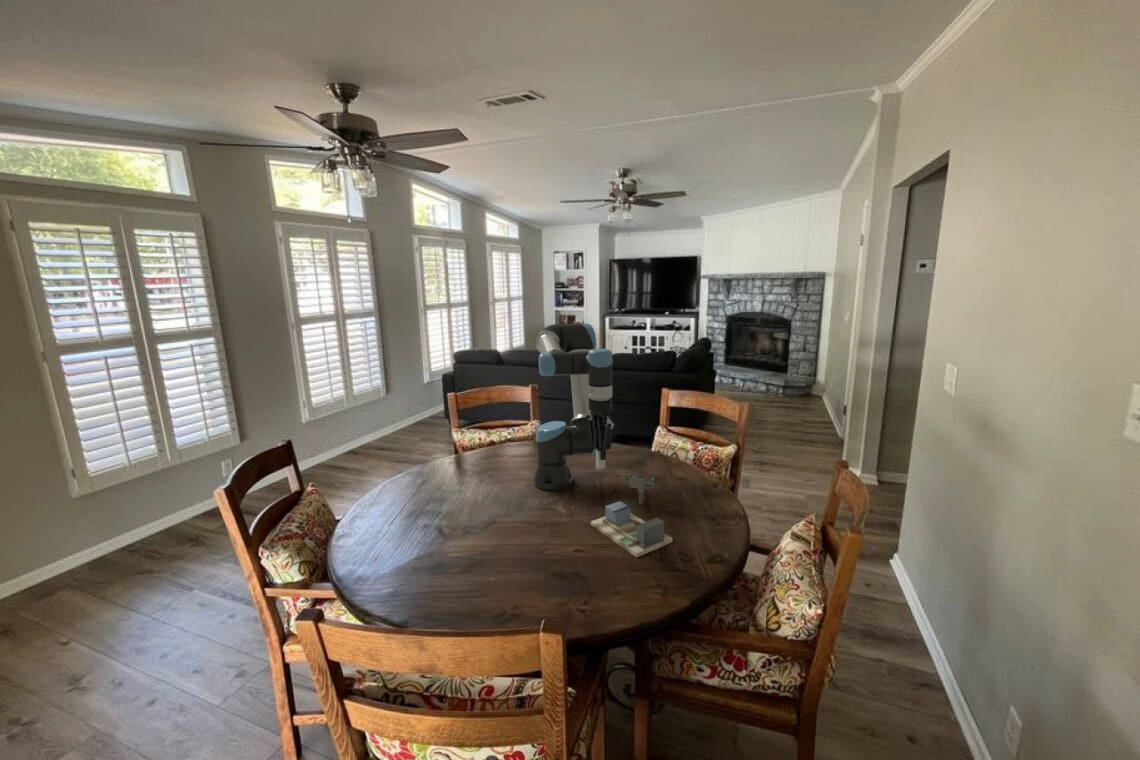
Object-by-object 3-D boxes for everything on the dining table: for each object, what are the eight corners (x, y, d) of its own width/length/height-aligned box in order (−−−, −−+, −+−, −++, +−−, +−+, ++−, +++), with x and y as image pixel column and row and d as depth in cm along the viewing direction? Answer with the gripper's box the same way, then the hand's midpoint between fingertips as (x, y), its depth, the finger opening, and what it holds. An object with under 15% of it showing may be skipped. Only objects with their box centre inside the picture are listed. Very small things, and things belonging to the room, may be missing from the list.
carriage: (603, 521, 149) (603, 505, 148) (621, 514, 153) (621, 499, 152) (613, 527, 145) (613, 512, 144) (631, 521, 149) (631, 505, 148)
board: (590, 524, 150) (590, 518, 149) (624, 512, 157) (624, 506, 157) (636, 557, 132) (636, 550, 131) (672, 541, 139) (672, 535, 139)
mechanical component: (655, 506, 161) (656, 479, 159) (625, 503, 163) (625, 477, 161) (655, 502, 164) (656, 475, 162) (626, 500, 166) (626, 473, 164)
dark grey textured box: (636, 544, 136) (636, 525, 135) (656, 536, 140) (657, 517, 139) (643, 549, 134) (643, 530, 132) (663, 540, 138) (664, 521, 137)
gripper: (578, 395, 152) (579, 464, 157) (603, 404, 141) (603, 477, 146) (597, 392, 156) (597, 459, 161) (622, 400, 145) (622, 471, 150)
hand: (600, 467), depth 153 cm, fingers closed
